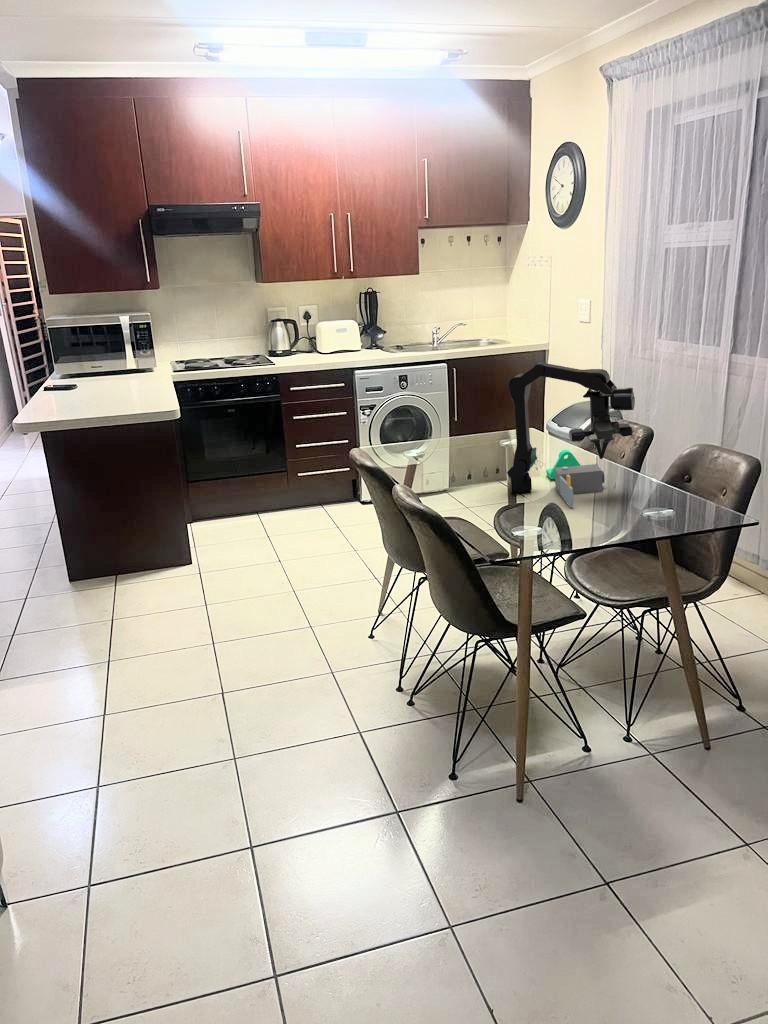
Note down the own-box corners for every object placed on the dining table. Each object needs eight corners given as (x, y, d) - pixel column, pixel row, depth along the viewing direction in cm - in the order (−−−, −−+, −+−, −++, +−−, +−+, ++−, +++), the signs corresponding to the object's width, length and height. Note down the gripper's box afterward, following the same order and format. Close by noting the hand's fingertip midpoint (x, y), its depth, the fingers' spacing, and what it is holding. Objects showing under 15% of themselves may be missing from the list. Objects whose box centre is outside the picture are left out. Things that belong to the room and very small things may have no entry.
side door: (558, 494, 248) (557, 466, 245) (561, 493, 248) (560, 466, 245) (570, 507, 234) (569, 478, 231) (573, 507, 234) (572, 478, 231)
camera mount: (579, 472, 270) (578, 444, 266) (585, 478, 262) (584, 449, 259) (546, 476, 270) (544, 448, 267) (551, 482, 263) (549, 453, 259)
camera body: (559, 494, 248) (558, 472, 246) (555, 487, 256) (554, 466, 253) (606, 490, 247) (605, 468, 244) (600, 483, 254) (600, 461, 252)
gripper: (573, 419, 228) (575, 468, 233) (636, 412, 226) (637, 462, 231) (567, 411, 238) (569, 459, 243) (627, 405, 237) (628, 453, 242)
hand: (601, 458), depth 240 cm, fingers closed
